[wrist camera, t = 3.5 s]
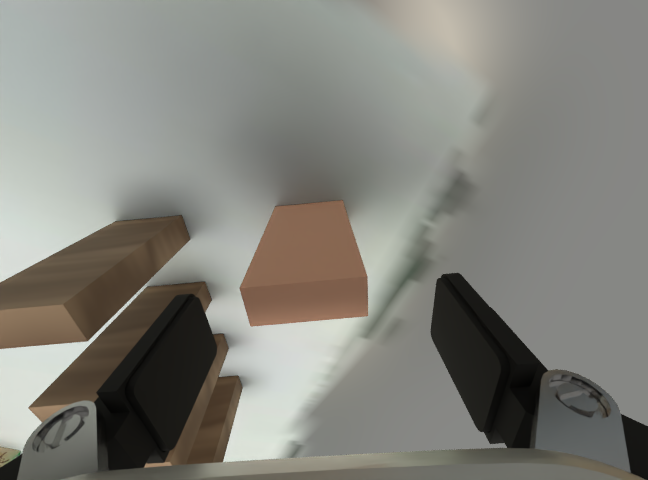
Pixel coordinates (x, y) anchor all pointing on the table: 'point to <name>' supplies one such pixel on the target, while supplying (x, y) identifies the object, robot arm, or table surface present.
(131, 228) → the domino
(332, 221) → the end domino
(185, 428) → the domino
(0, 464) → the stack of blocks
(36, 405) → the domino
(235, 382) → the domino
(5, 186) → the table surface
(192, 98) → the table surface
